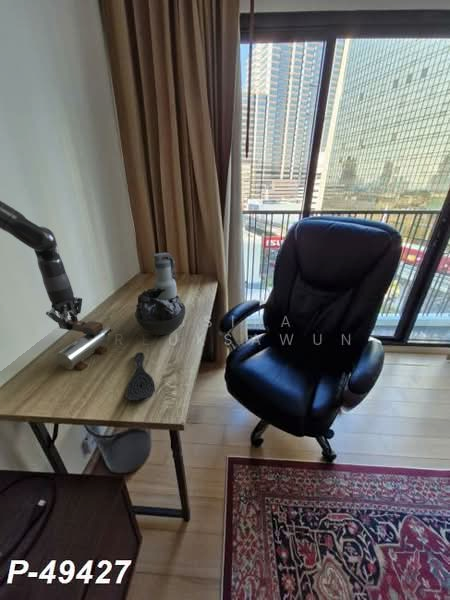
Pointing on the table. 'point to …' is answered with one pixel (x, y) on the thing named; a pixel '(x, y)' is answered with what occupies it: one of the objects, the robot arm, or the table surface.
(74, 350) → the steel bottle
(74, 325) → the scrub brush
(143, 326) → the bin with black bag
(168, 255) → the water bottle
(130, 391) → the hairbrush
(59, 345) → the table surface
